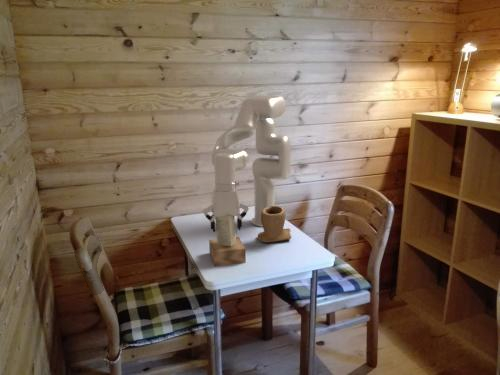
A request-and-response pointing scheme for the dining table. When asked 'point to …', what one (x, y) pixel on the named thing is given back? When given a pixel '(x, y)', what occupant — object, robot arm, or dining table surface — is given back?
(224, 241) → the skincare box
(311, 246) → the dining table surface
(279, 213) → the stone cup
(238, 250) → the walnut block
